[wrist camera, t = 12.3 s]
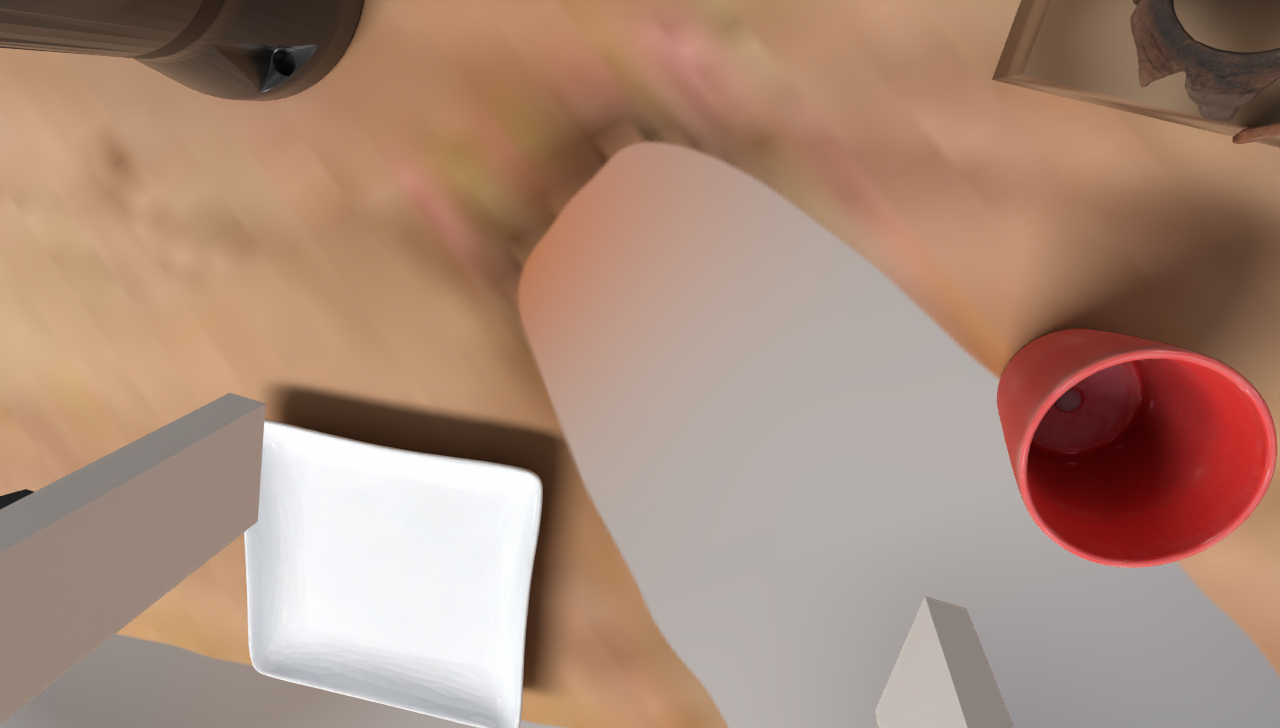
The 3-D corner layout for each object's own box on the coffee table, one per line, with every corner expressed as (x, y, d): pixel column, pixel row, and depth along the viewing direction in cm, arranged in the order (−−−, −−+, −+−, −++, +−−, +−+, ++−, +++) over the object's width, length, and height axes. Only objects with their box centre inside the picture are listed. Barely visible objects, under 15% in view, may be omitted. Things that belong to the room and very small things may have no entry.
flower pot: (944, 457, 46) (988, 542, 36) (1001, 282, 42) (1065, 328, 33) (1126, 496, 45) (1219, 593, 35) (1201, 319, 41) (1325, 377, 32)
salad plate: (263, 398, 53) (230, 417, 49) (557, 452, 50) (542, 475, 47) (275, 646, 60) (247, 676, 56) (533, 704, 57) (519, 739, 54)
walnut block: (992, 79, 39) (1022, 74, 34) (1073, -141, 36) (1119, -181, 31) (1311, 155, 38) (1388, 159, 33) (1426, -67, 34) (1530, -96, 30)
